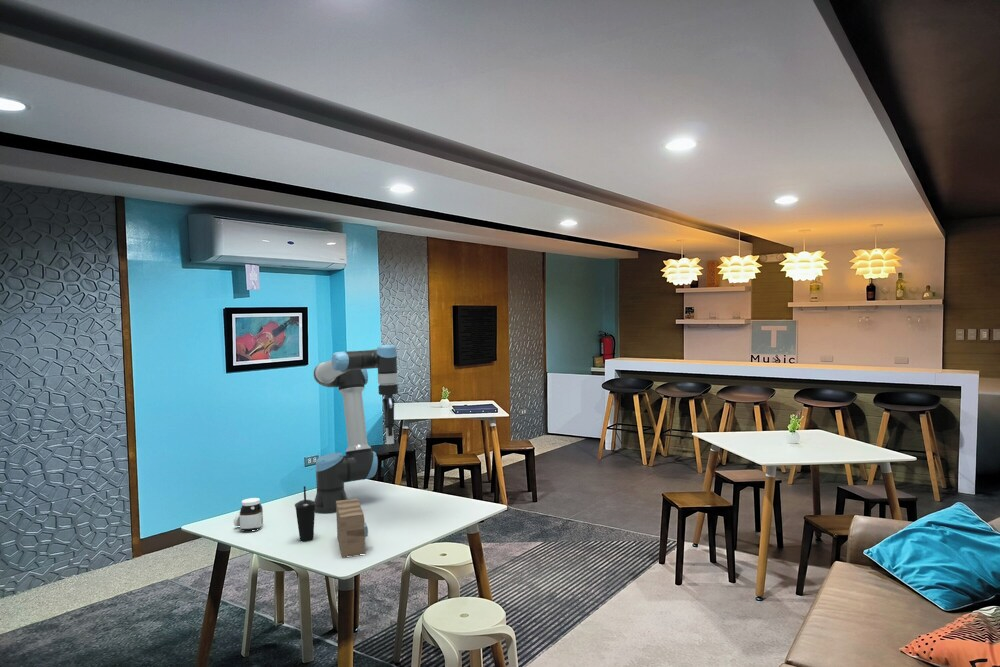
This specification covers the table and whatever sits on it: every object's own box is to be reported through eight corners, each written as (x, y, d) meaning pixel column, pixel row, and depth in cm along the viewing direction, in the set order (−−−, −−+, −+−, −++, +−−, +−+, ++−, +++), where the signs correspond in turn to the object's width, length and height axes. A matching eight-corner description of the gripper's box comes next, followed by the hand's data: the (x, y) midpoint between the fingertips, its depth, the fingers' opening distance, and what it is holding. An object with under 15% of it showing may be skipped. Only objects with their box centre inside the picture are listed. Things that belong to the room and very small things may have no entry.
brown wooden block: (337, 538, 240) (335, 501, 240) (359, 535, 242) (357, 498, 242) (341, 557, 219) (339, 517, 219) (365, 554, 221) (363, 514, 221)
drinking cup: (297, 544, 234) (294, 490, 234) (294, 538, 241) (292, 485, 241) (318, 541, 237) (316, 487, 237) (315, 535, 244) (313, 483, 244)
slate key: (349, 534, 227) (348, 524, 227) (367, 531, 229) (366, 522, 229) (350, 538, 223) (349, 528, 223) (368, 536, 225) (368, 526, 225)
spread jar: (257, 532, 250) (256, 503, 250) (228, 534, 249) (227, 504, 249) (267, 523, 262) (265, 495, 262) (238, 524, 261) (237, 496, 261)
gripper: (400, 384, 247) (402, 445, 248) (395, 382, 260) (397, 440, 260) (380, 386, 245) (382, 447, 245) (376, 383, 257) (378, 441, 258)
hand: (390, 443), depth 253 cm, fingers closed
